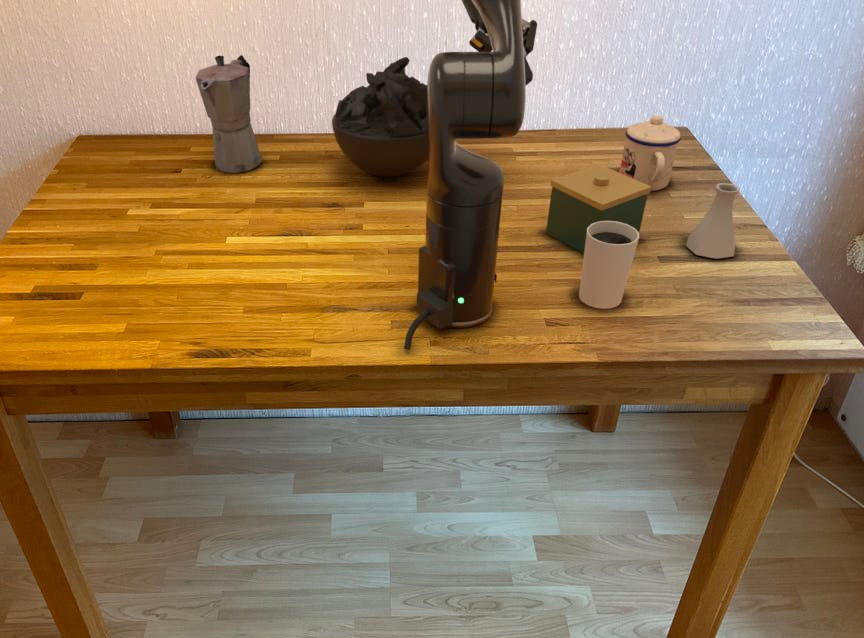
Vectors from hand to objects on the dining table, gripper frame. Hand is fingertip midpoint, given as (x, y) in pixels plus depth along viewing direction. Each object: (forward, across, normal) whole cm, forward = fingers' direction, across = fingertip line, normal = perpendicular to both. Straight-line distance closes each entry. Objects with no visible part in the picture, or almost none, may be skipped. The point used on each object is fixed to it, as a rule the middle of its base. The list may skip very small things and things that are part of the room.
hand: (526, 83), depth 116 cm
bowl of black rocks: (-1, -12, +29) cm, 31 cm away
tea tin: (+26, 0, +1) cm, 26 cm away
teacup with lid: (+21, +22, +7) cm, 31 cm away
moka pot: (-15, -33, +43) cm, 56 cm away
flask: (+36, +12, -8) cm, 38 cm away
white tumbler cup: (+36, -12, -8) cm, 38 cm away
